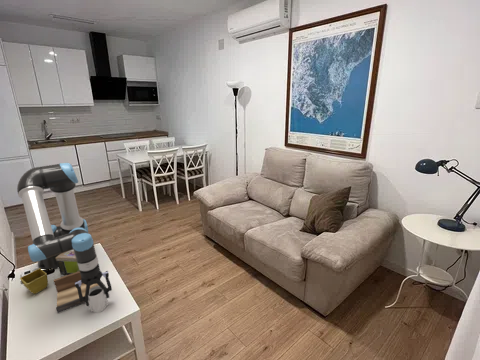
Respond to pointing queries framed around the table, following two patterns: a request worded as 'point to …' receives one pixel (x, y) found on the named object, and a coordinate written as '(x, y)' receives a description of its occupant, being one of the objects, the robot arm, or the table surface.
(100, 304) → the white paper cup
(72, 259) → the tea box
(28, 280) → the flower pot
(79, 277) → the wooden wall shelf
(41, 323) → the table surface
